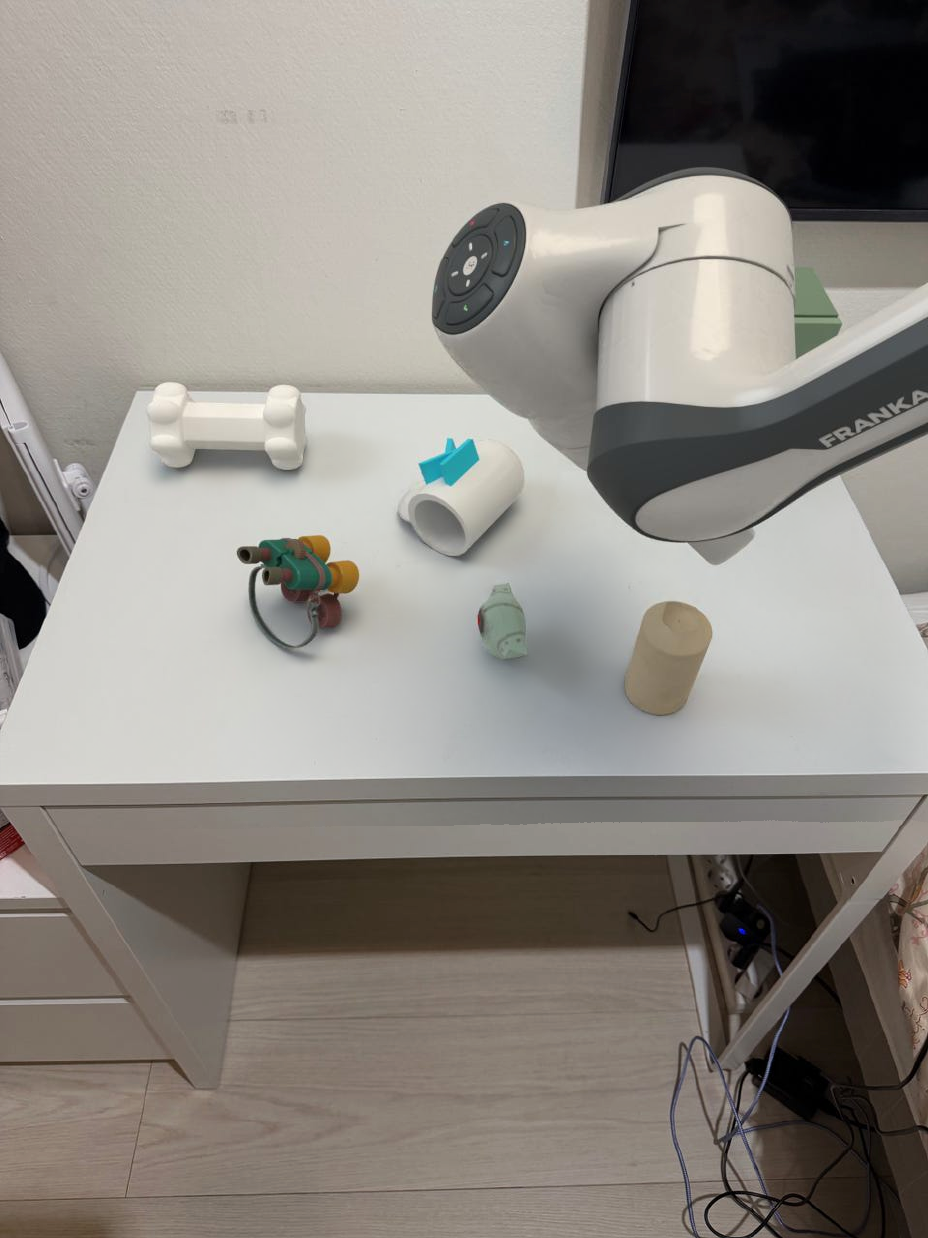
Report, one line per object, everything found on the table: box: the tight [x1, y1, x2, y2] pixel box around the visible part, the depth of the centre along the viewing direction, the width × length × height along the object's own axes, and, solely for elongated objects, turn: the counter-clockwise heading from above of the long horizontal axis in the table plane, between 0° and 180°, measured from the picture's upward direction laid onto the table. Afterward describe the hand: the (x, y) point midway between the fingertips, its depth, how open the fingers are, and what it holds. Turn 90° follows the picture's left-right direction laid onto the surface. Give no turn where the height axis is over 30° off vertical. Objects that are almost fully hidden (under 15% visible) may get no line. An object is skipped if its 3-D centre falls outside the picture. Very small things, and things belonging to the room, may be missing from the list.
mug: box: [397, 437, 525, 557], centre depth 84 cm, size 12×9×12 cm
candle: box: [624, 600, 713, 716], centre depth 69 cm, size 6×6×10 cm
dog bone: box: [145, 381, 308, 471], centre depth 88 cm, size 15×9×8 cm, turn 90°
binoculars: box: [236, 534, 360, 650], centre depth 73 cm, size 9×9×10 cm
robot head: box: [476, 582, 528, 660], centre depth 73 cm, size 8×4×7 cm, turn 9°
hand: (688, 480), depth 66 cm, fingers open, 8 cm apart
